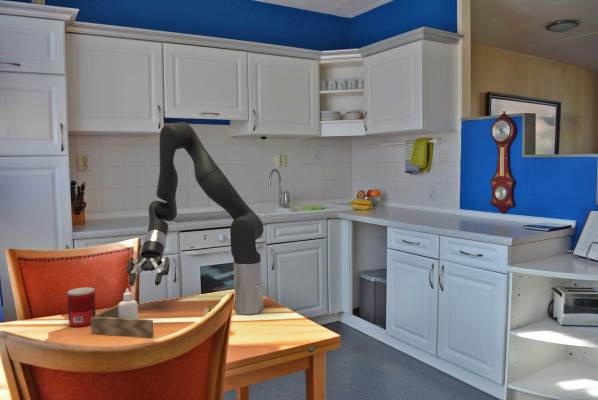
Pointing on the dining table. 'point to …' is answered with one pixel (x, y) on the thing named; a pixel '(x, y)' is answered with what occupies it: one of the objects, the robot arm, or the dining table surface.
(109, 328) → the corner arena
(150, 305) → the dining table surface
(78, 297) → the canned food
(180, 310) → the dining table surface
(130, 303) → the eye dropper bottle
